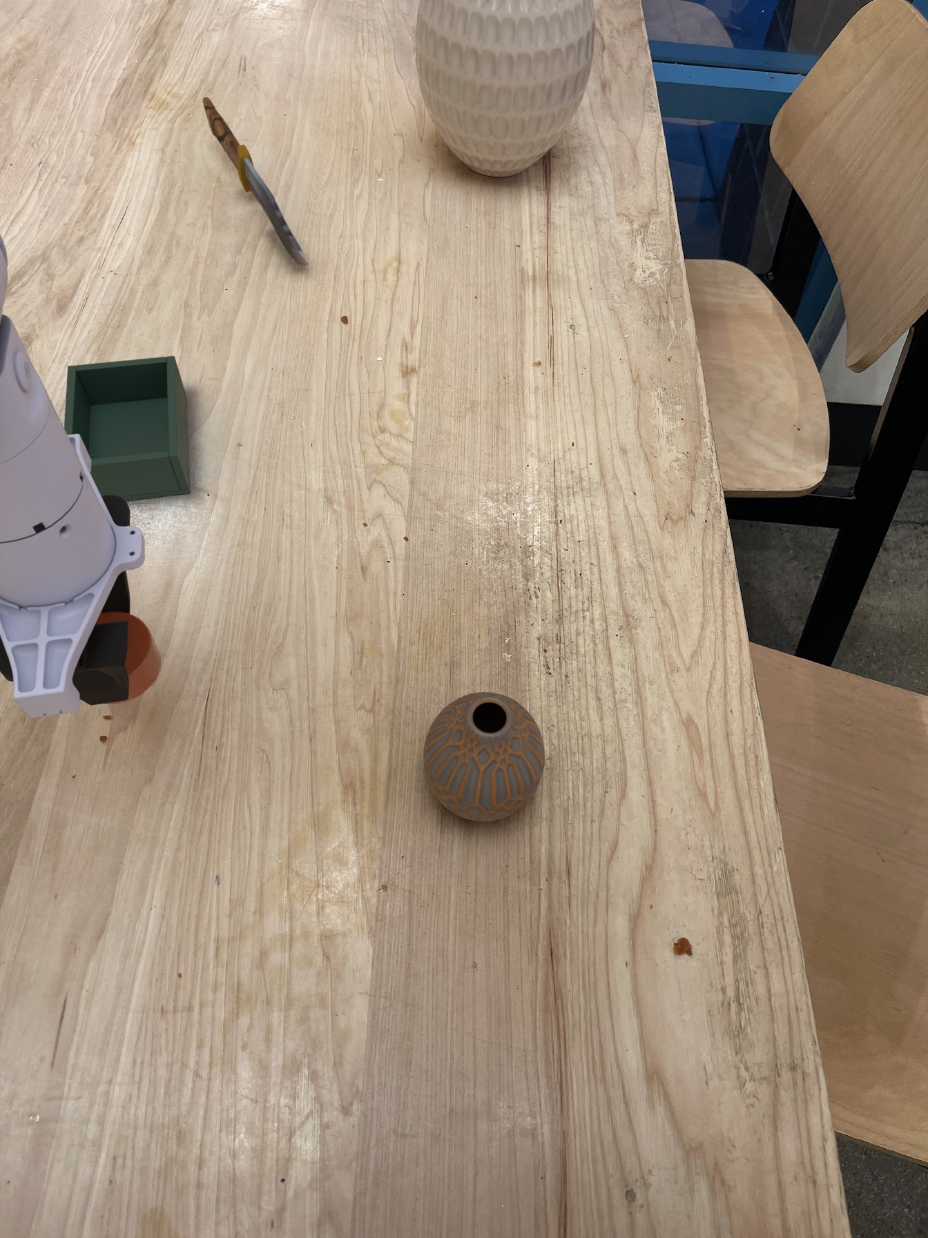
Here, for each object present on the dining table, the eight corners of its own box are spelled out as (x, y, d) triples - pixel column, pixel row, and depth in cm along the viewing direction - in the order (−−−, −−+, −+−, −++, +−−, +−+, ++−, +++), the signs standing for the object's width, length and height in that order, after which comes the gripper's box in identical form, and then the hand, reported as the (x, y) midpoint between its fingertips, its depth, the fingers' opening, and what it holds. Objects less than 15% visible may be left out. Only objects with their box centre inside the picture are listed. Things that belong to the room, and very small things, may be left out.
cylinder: (73, 710, 47) (58, 691, 45) (77, 637, 49) (63, 616, 48) (161, 698, 48) (151, 678, 46) (161, 626, 50) (151, 605, 48)
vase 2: (407, 748, 54) (405, 680, 47) (511, 714, 56) (525, 643, 48) (446, 852, 51) (450, 797, 43) (555, 813, 52) (577, 753, 45)
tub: (80, 506, 63) (61, 468, 60) (84, 405, 68) (67, 365, 65) (190, 493, 64) (177, 455, 61) (186, 395, 70) (174, 355, 66)
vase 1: (415, 112, 93) (413, -158, 74) (567, 115, 94) (604, -151, 75) (416, 204, 84) (415, -76, 65) (585, 206, 85) (631, -69, 66)
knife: (319, 285, 77) (313, 234, 73) (304, 290, 77) (297, 238, 73) (220, 142, 88) (210, 90, 84) (207, 145, 88) (196, 93, 84)
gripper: (108, 624, 33) (189, 768, 44) (116, 357, 40) (184, 539, 52) (-96, 650, 32) (41, 790, 43) (-48, 371, 39) (58, 554, 51)
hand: (110, 655), depth 47 cm, fingers closed on cylinder, 4 cm apart
